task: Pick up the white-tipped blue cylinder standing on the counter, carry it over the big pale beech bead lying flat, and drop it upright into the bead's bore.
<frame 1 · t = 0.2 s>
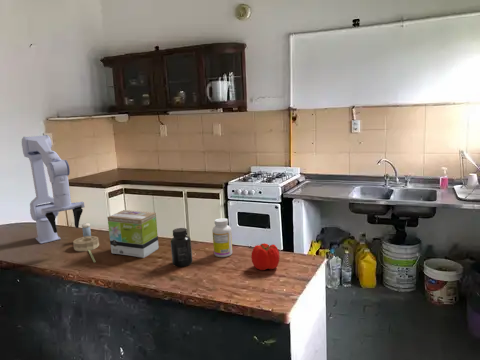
hand: (66, 229, 151), 10 cm above the counter, tool pointing down, fingers open, 7 cm apart
tomato: (266, 268, 132), on the counter
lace: (91, 256, 150), on the counter
tea box: (135, 252, 153), on the counter
supplement bottle: (182, 264, 139), on the counter
white-tipped blue cylinder: (87, 240, 169), on the counter
bead: (86, 247, 161), on the counter
supplement bottle 2: (223, 254, 146), on the counter
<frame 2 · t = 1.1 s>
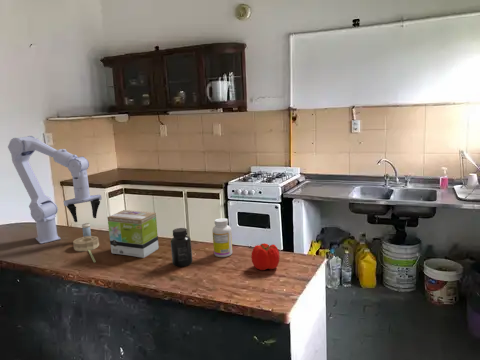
hand: (85, 219, 167), 9 cm above the counter, tool pointing down, fingers open, 7 cm apart
nothing on the counter moved.
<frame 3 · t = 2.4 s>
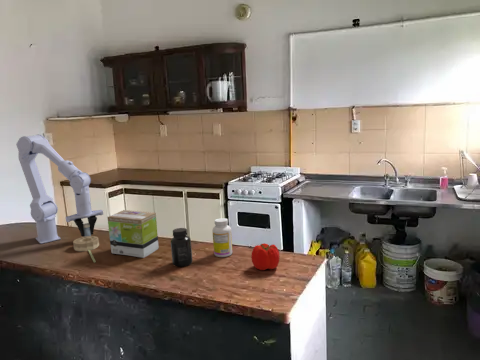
hand: (87, 235, 168), 2 cm above the counter, tool pointing down, fingers closed on white-tipped blue cylinder, 3 cm apart
white-tipped blue cylinder: (87, 240, 169), on the counter, touching gripper
everything else where it was.
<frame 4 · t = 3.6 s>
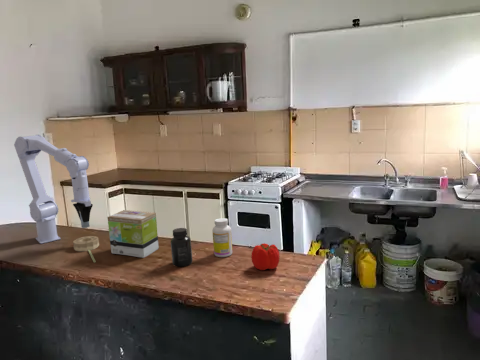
hand: (84, 220, 163), 10 cm above the counter, tool pointing down, fingers closed on white-tipped blue cylinder, 3 cm apart
white-tipped blue cylinder: (85, 226, 163), point 7 cm above the counter, touching gripper
everything else where it was.
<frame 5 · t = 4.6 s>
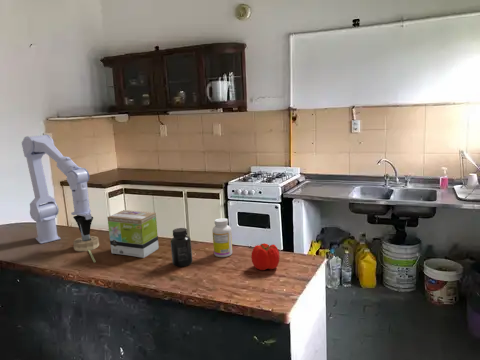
hand: (85, 233, 160), 6 cm above the counter, tool pointing down, fingers closed on white-tipped blue cylinder, 3 cm apart
white-tipped blue cylinder: (86, 239, 160), point 3 cm above the counter, touching gripper
everything else where it was.
when the fingers open (4 cm above the counter, at t = 5.2 s): white-tipped blue cylinder drops 1 cm, resting in bead.
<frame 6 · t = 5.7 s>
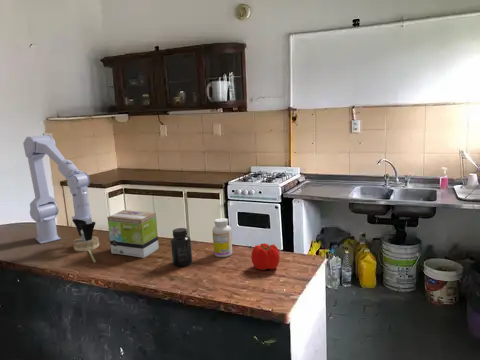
hand: (85, 237, 160), 4 cm above the counter, tool pointing down, fingers open, 7 cm apart
white-tipped blue cylinder: (86, 247, 161), resting in bead
everything else where it was.
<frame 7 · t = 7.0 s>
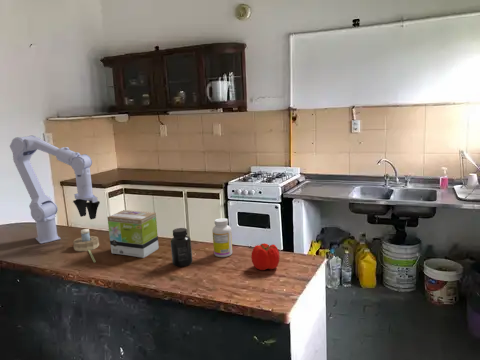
hand: (88, 217, 167), 10 cm above the counter, tool pointing down, fingers open, 7 cm apart
nothing on the counter moved.
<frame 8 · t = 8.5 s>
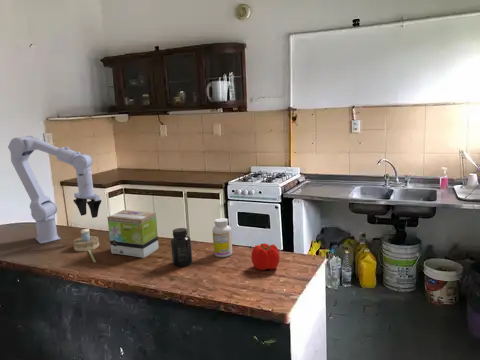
hand: (89, 216, 169), 10 cm above the counter, tool pointing down, fingers open, 7 cm apart
nothing on the counter moved.
at the end: white-tipped blue cylinder 0.1 cm off-centre on the bead, point 0.0 cm above the bead's base; white-tipped blue cylinder tilted 0°; the gripper is holding nothing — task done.
